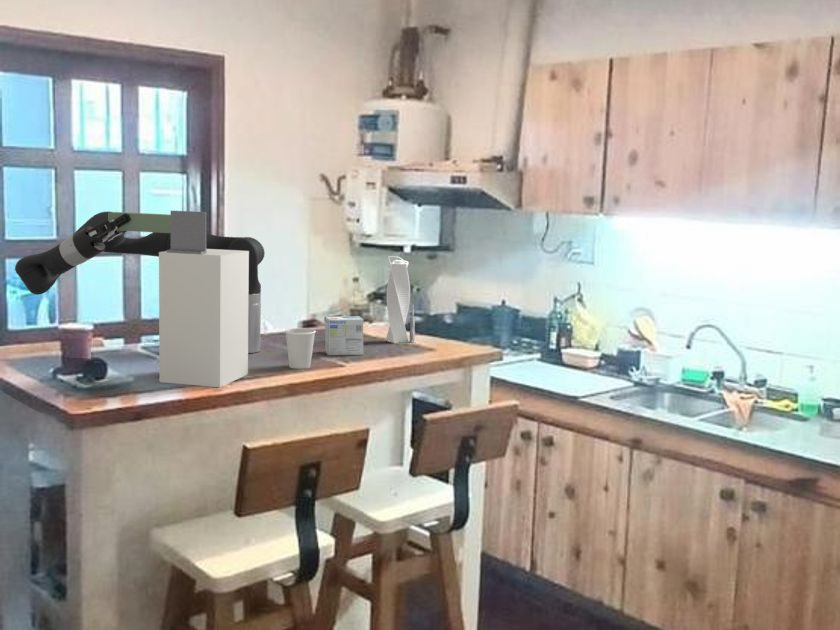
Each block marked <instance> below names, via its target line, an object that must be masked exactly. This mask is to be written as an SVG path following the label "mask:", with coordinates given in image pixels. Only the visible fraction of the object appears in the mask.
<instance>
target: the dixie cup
mask: <svg viewBox="0 0 840 630" xmlns="http://www.w3.org/2000/svg"><path fill="white" fill-rule="evenodd" d="M284 333H285V339H286V348H287V357H288V366H289V368H291V369H295V370H296V369H298V370H302V369H303V370H305V369H309V368H311V365H312V358H313V357H312V356H313V348H314V342H315V334H316V333H317V331H316V330H315V329H314V328H305V327H303V328H302V327H298V328H295V327H294V328H287V329H285V330H284Z"/></svg>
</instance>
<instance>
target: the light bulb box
mask: <svg viewBox="0 0 840 630" xmlns="http://www.w3.org/2000/svg"><path fill="white" fill-rule="evenodd" d="M324 318H325V323H324V325H325V327H324V328H325V331H324V332H325V333H324V335H325V336H324V338H325V340H324V343H325V345H324V346H325V348H324V352H325V354H327V356H356V355H357V356H361V355H364V318H362V317H361V316H360V315H357V316H356V315H355V316H344V315H343V316H325V317H324Z"/></svg>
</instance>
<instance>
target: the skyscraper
mask: <svg viewBox="0 0 840 630" xmlns="http://www.w3.org/2000/svg"><path fill="white" fill-rule="evenodd" d="M390 258H395V259H393V260H392V261H391V259H390ZM387 259H388V263H389V265H390V271H389V275H388V280H387V286H386V308H387V310H386V311H387V316H388V317H387V318H388V323H389V327H388V330H387V335H386V338H385V342H386V341H387V342H388V343H390V342H391V344H394V345H399V346H400V345H407V344H410V343H411V344H416V341H415V339H416V338H415V337H416V331H415V325H416V324H415V323H416V317H415V308H414V303H413V304H412V309H411V317H410V331H409V338H408V333H407V329H406V322H407V317H408V314H409V310H410V309H409V308H410V304H411V303H410V302H411V282H410V277H409V271H408V269H409V268H408V267H409V264H410V262H409V261H408V260H404V259H403V258H402V257H400V256H397V255H389V256H387Z"/></svg>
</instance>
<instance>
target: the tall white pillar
mask: <svg viewBox="0 0 840 630" xmlns="http://www.w3.org/2000/svg"><path fill="white" fill-rule="evenodd" d="M248 293H249V251H240V250H220V249H206V254H184V253H167V251H164V252H159V257H158V320H159V322H158V329H159V330H158V331H159V332H158V333H159V334H158V336H159V338H158V342H159V343H158V344H159V345H158V347H159V351H158V352H159V355H158V356H159V361H158V363H159V366H158V367H159V369H158V370H159V374H158V375H159V383H165V384H177V385H186V386H187V385H190V386H199V387H201V386H202V387H212V388H221V387H224V386H225V385H228V384H230V383H232V382H235V381H236V380H239V379H240V378H243V377H245V376H247V375H249V353H248Z"/></svg>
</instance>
